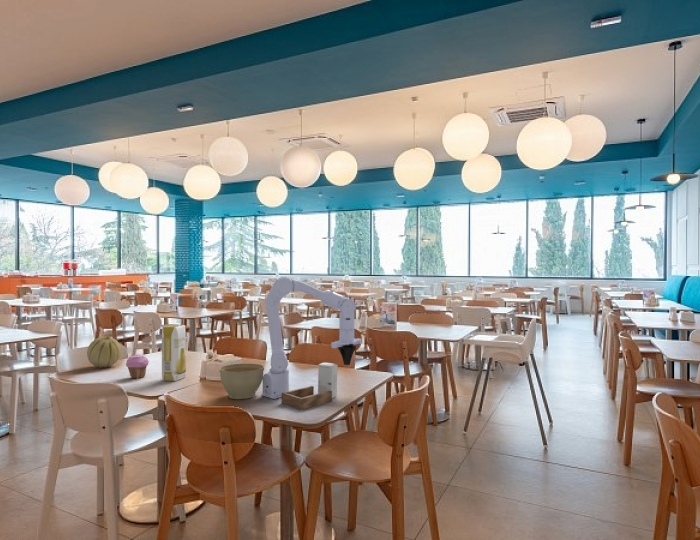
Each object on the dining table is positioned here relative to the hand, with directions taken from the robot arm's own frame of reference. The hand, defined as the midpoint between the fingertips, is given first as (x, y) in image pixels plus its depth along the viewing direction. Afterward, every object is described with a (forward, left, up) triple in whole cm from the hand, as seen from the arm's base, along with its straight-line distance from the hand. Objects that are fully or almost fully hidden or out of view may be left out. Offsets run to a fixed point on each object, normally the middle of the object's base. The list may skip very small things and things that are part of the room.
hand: (346, 364), depth 182 cm
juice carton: (-38, +67, -11) cm, 78 cm away
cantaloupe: (-51, +114, -11) cm, 125 cm away
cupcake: (-48, +81, -11) cm, 95 cm away
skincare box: (-10, 0, -11) cm, 15 cm away
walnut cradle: (-20, 0, -10) cm, 22 cm away
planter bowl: (-32, +23, -11) cm, 41 cm away
